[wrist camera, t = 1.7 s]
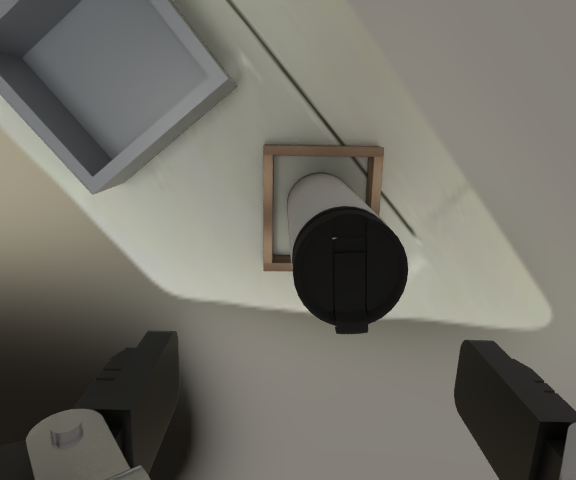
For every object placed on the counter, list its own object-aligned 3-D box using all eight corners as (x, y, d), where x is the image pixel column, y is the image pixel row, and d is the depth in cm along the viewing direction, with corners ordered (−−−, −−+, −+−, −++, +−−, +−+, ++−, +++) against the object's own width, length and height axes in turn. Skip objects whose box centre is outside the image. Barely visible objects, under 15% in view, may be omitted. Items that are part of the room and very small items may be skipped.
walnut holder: (264, 144, 40) (263, 145, 37) (377, 146, 40) (384, 147, 38) (264, 262, 43) (263, 271, 40) (369, 263, 43) (374, 272, 41)
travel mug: (288, 240, 42) (294, 339, 23) (285, 173, 41) (290, 219, 21) (351, 237, 42) (410, 334, 23) (351, 170, 41) (415, 214, 21)
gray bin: (12, 57, 37) (-47, 43, 31) (128, -55, 35) (92, -97, 29) (123, 182, 41) (92, 194, 34) (237, 86, 38) (228, 78, 32)
